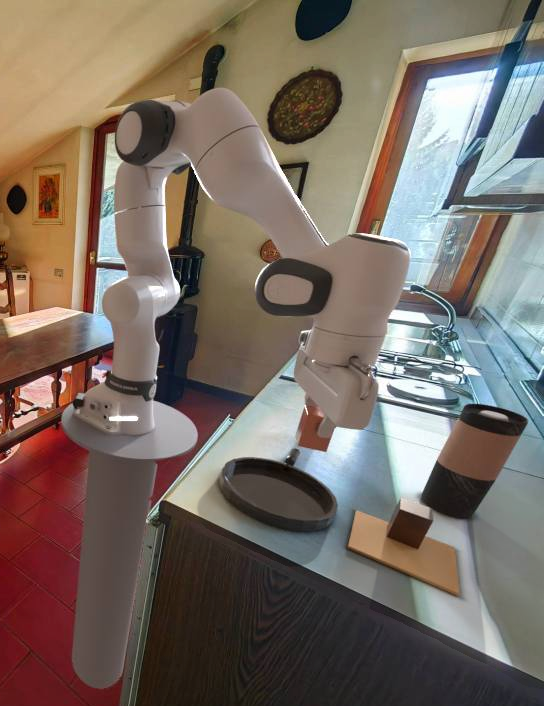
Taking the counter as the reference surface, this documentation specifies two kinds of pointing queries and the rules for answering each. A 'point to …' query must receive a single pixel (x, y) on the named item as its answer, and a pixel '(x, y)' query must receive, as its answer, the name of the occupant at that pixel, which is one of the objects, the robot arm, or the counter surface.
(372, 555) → the mat
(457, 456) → the travel mug
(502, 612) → the counter surface
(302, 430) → the terracotta block
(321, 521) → the pan
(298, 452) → the pan handle
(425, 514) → the walnut block
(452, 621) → the counter surface
